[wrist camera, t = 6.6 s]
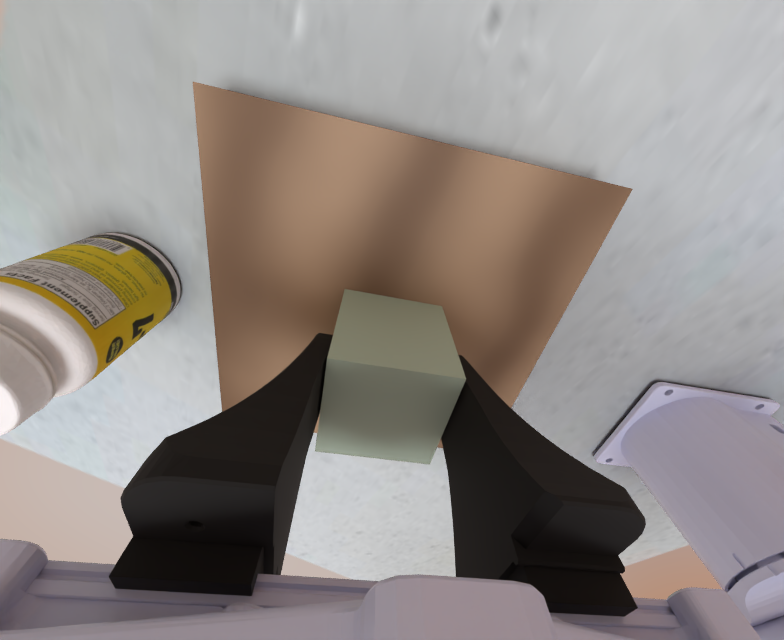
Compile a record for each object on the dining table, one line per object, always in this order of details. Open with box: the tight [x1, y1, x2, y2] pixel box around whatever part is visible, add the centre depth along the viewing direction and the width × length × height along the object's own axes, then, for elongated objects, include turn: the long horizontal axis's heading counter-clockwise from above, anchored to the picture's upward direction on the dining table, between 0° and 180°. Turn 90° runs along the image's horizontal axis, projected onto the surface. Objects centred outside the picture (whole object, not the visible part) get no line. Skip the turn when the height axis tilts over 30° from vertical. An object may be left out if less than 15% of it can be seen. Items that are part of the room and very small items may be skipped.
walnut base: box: [193, 82, 632, 448], centre depth 16 cm, size 16×16×2 cm
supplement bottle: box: [0, 233, 180, 435], centre depth 13 cm, size 5×5×8 cm
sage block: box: [315, 289, 466, 464], centre depth 13 cm, size 4×4×5 cm
